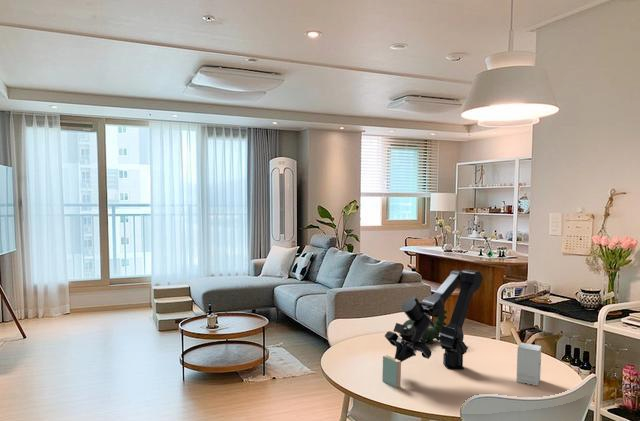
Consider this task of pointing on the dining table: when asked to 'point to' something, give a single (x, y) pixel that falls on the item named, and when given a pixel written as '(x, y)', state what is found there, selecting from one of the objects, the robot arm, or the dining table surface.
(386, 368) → the tile
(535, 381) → the supplement box
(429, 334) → the toy figurine
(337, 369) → the dining table surface
